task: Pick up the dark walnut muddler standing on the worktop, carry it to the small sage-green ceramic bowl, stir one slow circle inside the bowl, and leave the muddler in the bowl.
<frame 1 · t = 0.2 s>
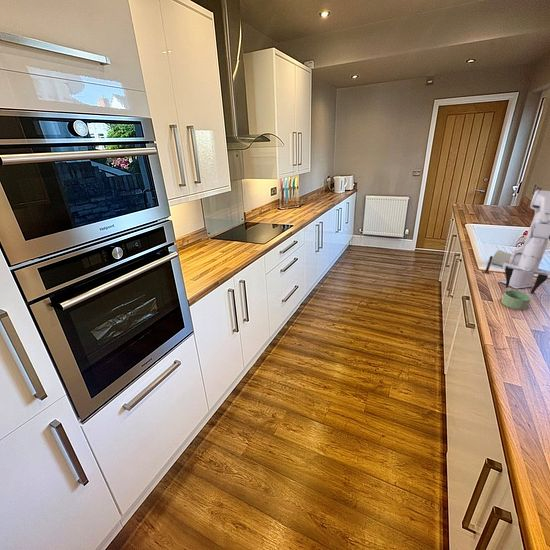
hand: (519, 290, 111), 11 cm above the counter, tool pointing down, fingers open, 7 cm apart
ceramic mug: (501, 265, 158), on the counter
bowl: (513, 304, 122), on the counter
muddler: (486, 272, 150), on the counter
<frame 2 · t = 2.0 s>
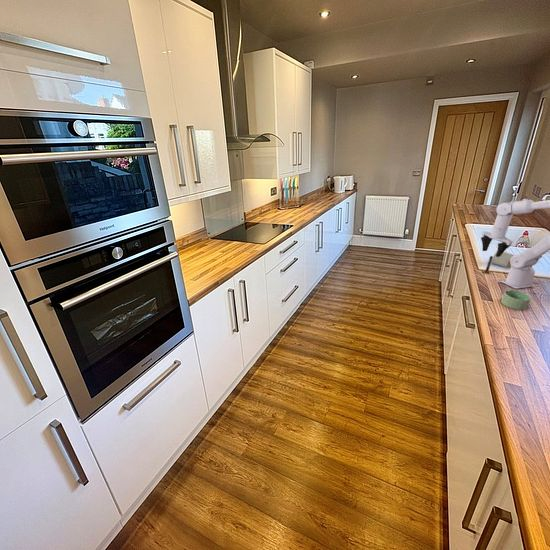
hand: (491, 253, 146), 10 cm above the counter, tool pointing down, fingers open, 7 cm apart
nothing on the counter moved.
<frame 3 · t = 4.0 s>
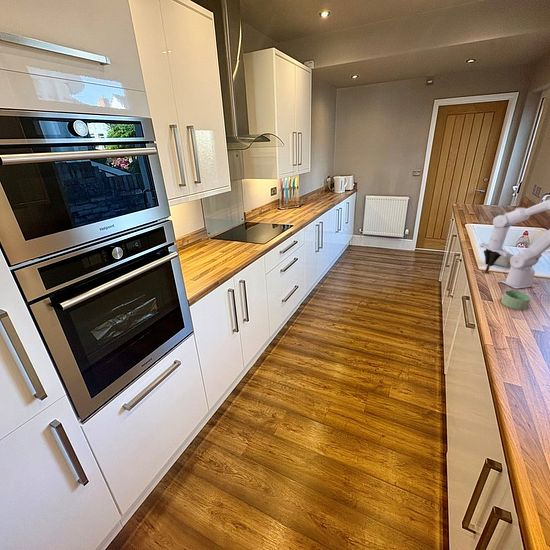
hand: (488, 264, 148), 4 cm above the counter, tool pointing down, fingers closed on muddler, 1 cm apart
muddler: (486, 272, 150), on the counter, touching gripper
everything else where it was.
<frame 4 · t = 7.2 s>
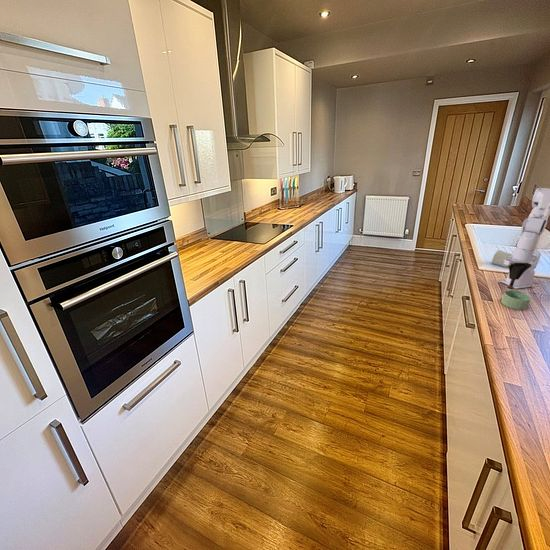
hand: (513, 278, 120), 10 cm above the counter, tool pointing down, fingers closed on muddler
muddler: (510, 288, 122), point 6 cm above the counter, touching gripper
everything else where it was.
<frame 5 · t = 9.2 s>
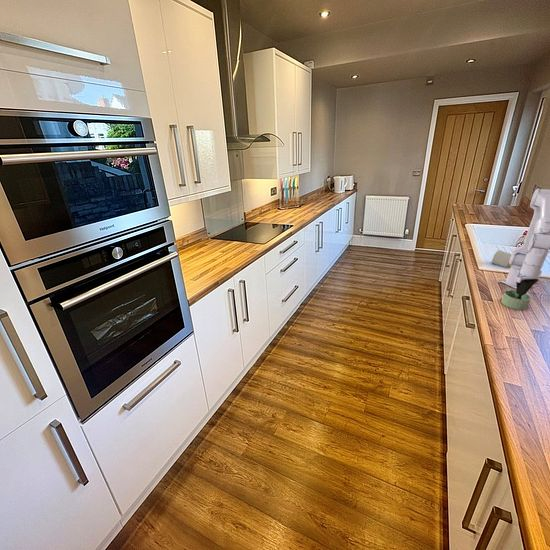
hand: (520, 293, 119), 5 cm above the counter, tool pointing down, fingers closed on muddler, 1 cm apart
muddler: (517, 303, 121), point 1 cm above the counter, touching gripper
everything else where it was.
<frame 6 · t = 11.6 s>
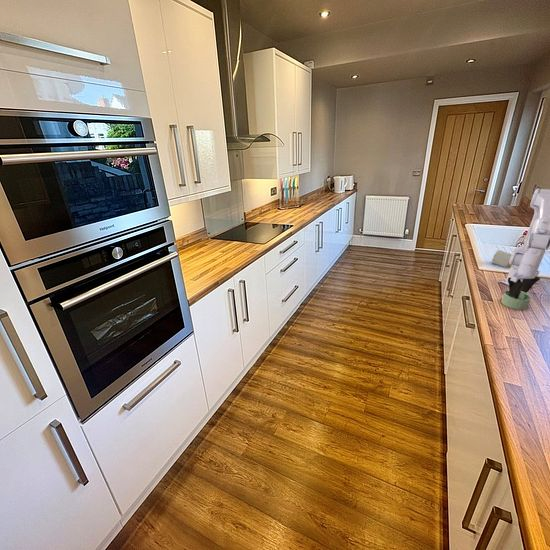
hand: (518, 293, 120), 5 cm above the counter, tool pointing down, fingers open, 7 cm apart
muddler: (514, 303, 122), point 1 cm above the counter, touching bowl
everything else where it was.
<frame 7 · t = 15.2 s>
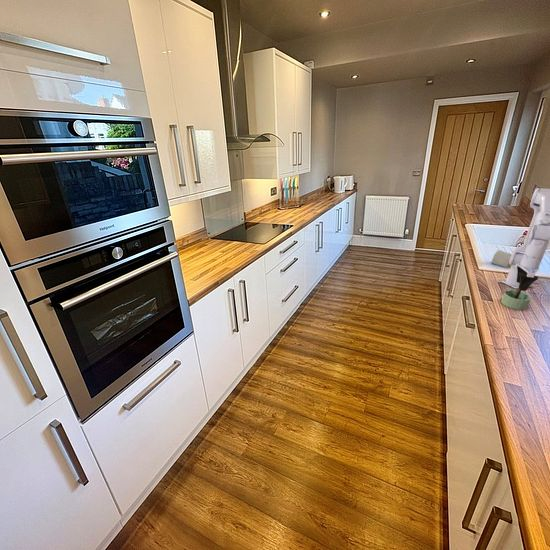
hand: (520, 286, 118), 9 cm above the counter, tool pointing down, fingers open, 7 cm apart
nothing on the counter moved.
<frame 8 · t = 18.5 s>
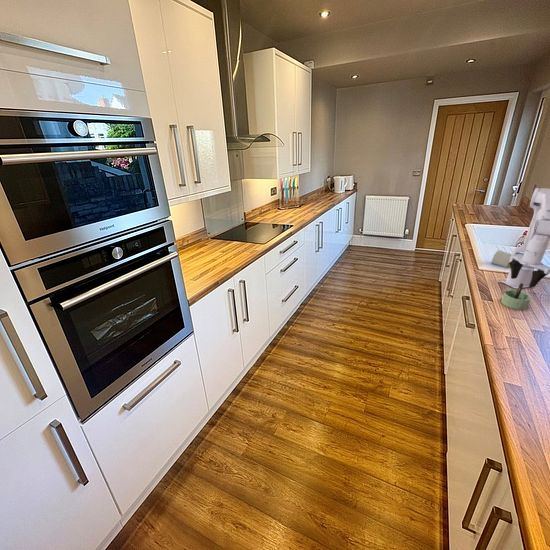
hand: (522, 282, 117), 10 cm above the counter, tool pointing down, fingers open, 7 cm apart
nothing on the counter moved.
at the end: muddler 0.0 cm off-centre in the bowl, point 0.6 cm above the bowl's base; the gripper is holding nothing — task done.
